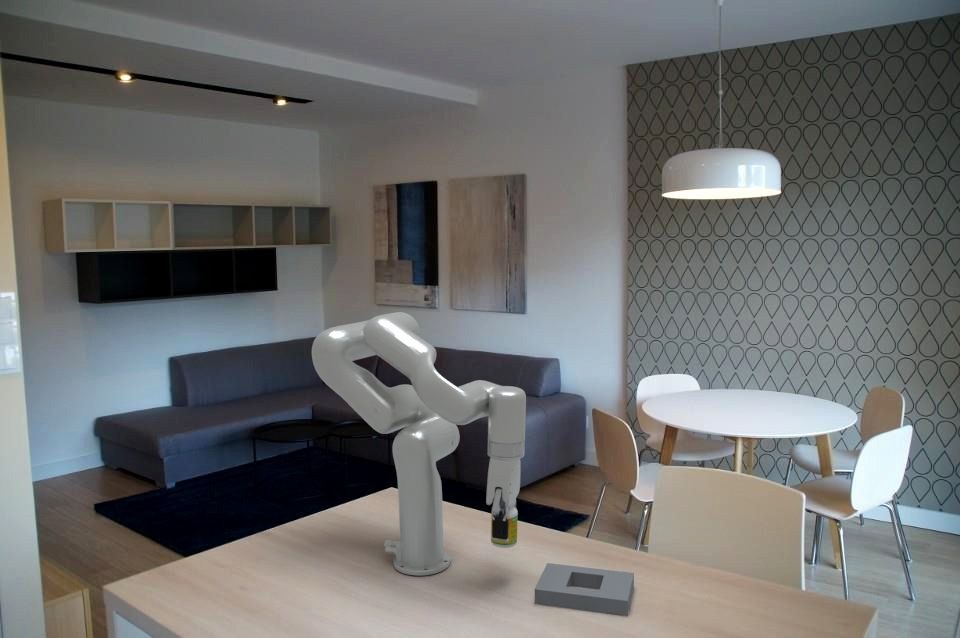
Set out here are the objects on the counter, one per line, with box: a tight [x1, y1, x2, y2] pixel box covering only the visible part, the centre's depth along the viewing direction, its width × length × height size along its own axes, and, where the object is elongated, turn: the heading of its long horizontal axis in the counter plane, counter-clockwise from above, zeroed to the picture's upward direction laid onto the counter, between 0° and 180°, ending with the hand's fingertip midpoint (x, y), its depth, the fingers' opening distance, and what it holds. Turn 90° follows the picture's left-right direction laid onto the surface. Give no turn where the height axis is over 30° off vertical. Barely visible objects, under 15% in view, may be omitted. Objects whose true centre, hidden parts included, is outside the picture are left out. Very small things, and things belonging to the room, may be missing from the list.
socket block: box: [534, 562, 635, 617], centre depth 149 cm, size 18×12×3 cm, turn 73°
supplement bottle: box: [490, 500, 519, 549], centre depth 154 cm, size 5×5×10 cm
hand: (504, 531), depth 154 cm, fingers closed on supplement bottle, 5 cm apart
